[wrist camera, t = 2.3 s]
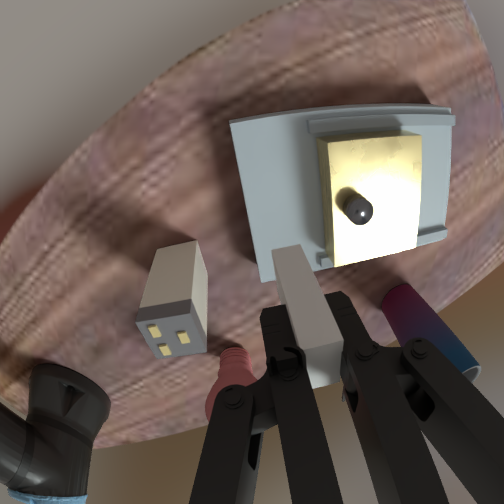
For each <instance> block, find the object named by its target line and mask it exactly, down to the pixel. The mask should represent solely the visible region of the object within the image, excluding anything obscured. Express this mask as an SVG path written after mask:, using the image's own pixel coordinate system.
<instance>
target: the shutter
mask: <svg viewBox="0 0 504 504" xmlns="http://www.w3.org/2000/svg"><path fill="white" fill-rule="evenodd" d="M316 144H317V152H318V162H319V172H320V183H321V194H322V207H323V221H324V238H325V252H326V254H327V255H328V257H329V259H330V260H331V262H332V263H333V265H334V267H338V266H342V265H346V264H351V263H355V262H359V261H363V260H367V259H371V258H375V257H380V256H384V255H388V254H392V253H396V252H400V251H403V250H407V249H411V248H415V246H416V238H417V229H418V219H419V208H420V194H421V173H422V135H419V134H416V133H413V132H410V131H407V130H389V131H374V132H361V133H350V134H340V135H331V136H323V137H316Z"/></svg>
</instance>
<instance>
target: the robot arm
mask: <svg viewBox="0 0 504 504" xmlns="http://www.w3.org/2000/svg"><path fill="white" fill-rule="evenodd" d="M271 252H272V258H273V264H274V271H275V277H276V283H277V290H278V294H279V298H280V301H281V305H278V306H274V307H269V308H264V309H263V310H262V313H261V315H260V322H261V328H262V334H263V340H264V345H265V351H266V357H267V359H266V365H267V370H266V372H265V374H264V375H263V376H262V377H261V378H260V379H259V380H257V381H256V382H254V383H252V384H250V385H248V386H246V387H245V386H244V385H239V384H234V385H228V386H226V387H224V388H222V389H221V390H220V391H219V392H218V394H217V396H216V398H215V401H214V405H213V409H212V413H211V417H210V421H209V425H208V429H207V433H206V437H205V441H204V445H203V449H202V453H201V457H200V461H199V465H198V469H197V473H196V477H195V481H194V485H193V489H192V493H191V497H190V501H189V504H253V500H254V494H255V488H256V481H257V475H258V468H259V462H260V455H261V448H262V441H263V434H264V431H265V430H267V429H269V428H271V427H273V426H275V425H277V424H278V428H279V433H280V438H281V444H282V450H283V455H284V461H285V466H286V472H287V477H288V482H289V488H290V494H291V499H292V504H343V501H342V496H341V493H340V489H339V485H338V481H337V477H336V473H335V470H334V466H333V462H332V458H331V454H330V451H329V447H328V443H327V440H326V436H325V432H324V429H323V425H322V421H321V418H320V414H319V410H318V407H317V403H316V400H315V396H314V393H313V388H318V387H321V386H326V385H329V384H333V383H337V382H340V375H341V378H342V381H343V384H344V386H343V393H342V401H343V402H344V401H345V399H346V402H347V404H348V408H349V411H350V413H351V416H352V419H353V422H354V426H355V429H356V432H357V435H358V438H359V441H360V444H361V447H362V450H363V453H364V457H365V460H366V463H367V466H368V469H369V473H370V476H371V479H372V482H373V486H374V489H375V492H376V496H377V499H378V503H379V504H449V502H448V499H447V496H446V493H445V491H444V488H443V485H442V482H441V479H440V477H439V474H438V472H437V469H436V466H435V464H434V462H433V459H432V456H431V454H430V452H429V449H428V447H427V444H426V442H425V439H424V437H423V435H422V432H423V434H424V435H425V436H426V437H427V439H428V440H429V441H430V442H431V444H432V445H433V446H434V448H435V449H436V450H437V451H438V453H439V454H440V455H441V457H442V458H443V459H444V460H445V462H446V463H447V464H448V465H449V467H450V468H451V469H452V470H453V472H454V473H455V475H456V476H457V477H458V478H459V480H460V481H461V482H462V484H463V485H464V486H465V488H466V489H467V490H468V492H469V493H470V494H471V495H472V497H473V498H474V500H475V501H476V502H477V504H504V418H503V417H502V416H501V415H500V413H499V412H498V411H497V410H496V409H495V408H494V407H493V406H492V405H491V403H490V402H489V401H488V400H487V399H486V398H485V397H484V396H483V395H482V394H481V393H480V391H478V389H477V388H476V387H475V386H474V385H473V384H472V383H471V382H470V381H469V380H468V379H467V378H466V377H465V376H464V375H463V374H462V373H461V372H460V371H459V370H458V369H457V367H456V366H455V365H454V364H453V363H452V362H451V361H450V360H449V359H448V358H447V357H446V356H445V355H444V354H443V353H442V352H441V351H440V350H439V349H438V348H437V347H436V346H435V345H433V344H432V343H431V342H430V341H429V340H427V339H424V338H421V337H419V338H412V339H410V340H408V341H407V342H406V343H405V345H404V347H383V346H380V345H379V344H378V343H376V342H375V341H373V340H372V339H371V338H370V336H369V334H368V332H367V330H366V329H365V327H364V325H363V323H362V321H361V319H360V317H359V315H358V314H357V311H356V309H355V308H354V307H353V304H352V302H351V300H350V298H349V297H348V296H347V295H345V294H344V293H343V292H341V291H338V292H334V293H329V294H325V295H324V294H323V292H322V290H321V288H320V285H319V283H318V281H317V279H316V277H315V275H314V273H313V270H312V268H311V266H310V264H309V262H308V260H307V258H306V256H305V253H304V251H303V249H302V247H301V245H300V244H297V245H292V246H288V247H283V248H278V249H273V250H271ZM110 407H111V402H110V399H109V397H108V396H107V394H106V393H105V392H104V391H103V390H102V389H101V388H100V387H99V386H97V385H96V384H95V383H93V382H92V381H91V380H89V379H87V378H86V377H84V376H82V375H80V374H78V373H76V372H74V371H72V370H69V369H67V368H64V367H61V366H57V365H52V364H40V365H37V366H35V367H34V369H33V371H32V373H31V376H30V378H29V403H28V414H27V418H26V421H25V420H23V419H22V418H21V417H19V416H18V415H17V414H15V413H14V412H13V411H11V410H10V409H8V408H7V407H6V406H5V405H3V404H2V403H1V402H0V483H2V484H4V485H6V486H7V487H8V493H9V496H10V497H12V498H14V499H16V500H19V501H21V502H23V503H26V504H85V502H86V498H87V485H88V476H89V469H90V461H91V455H92V448H93V442H94V440H95V438H96V436H97V434H98V433H99V431H100V429H101V427H102V425H103V423H104V422H105V421H106V420H107V419H108V416H109V413H110ZM421 431H422V432H421Z"/></svg>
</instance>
